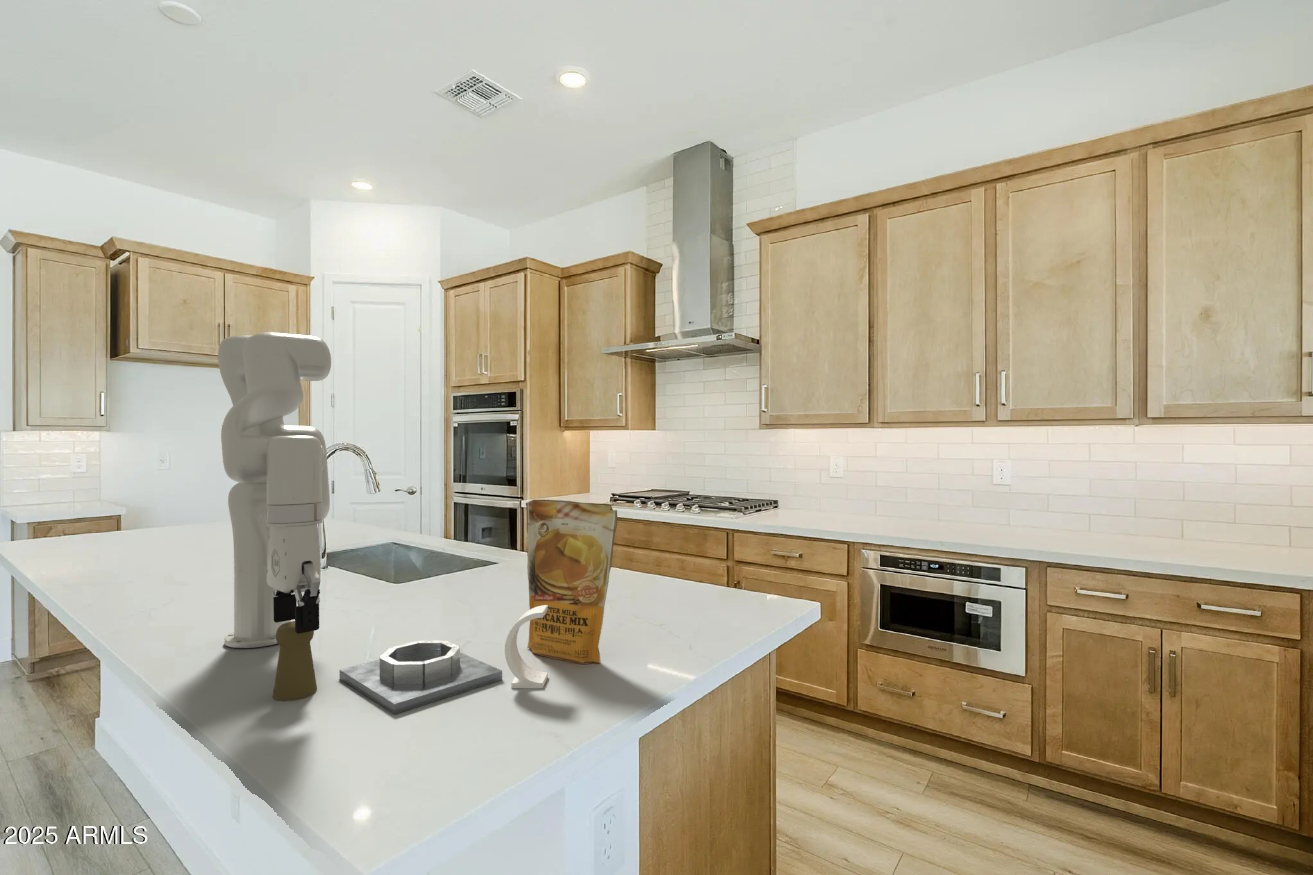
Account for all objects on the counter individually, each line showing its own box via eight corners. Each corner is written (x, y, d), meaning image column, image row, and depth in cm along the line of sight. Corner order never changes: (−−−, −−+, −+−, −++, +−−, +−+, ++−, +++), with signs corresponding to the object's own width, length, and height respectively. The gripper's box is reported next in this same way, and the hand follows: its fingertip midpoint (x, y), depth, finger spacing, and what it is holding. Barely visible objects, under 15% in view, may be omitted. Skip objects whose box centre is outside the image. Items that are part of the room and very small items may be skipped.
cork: (326, 688, 102) (325, 618, 102) (293, 703, 96) (293, 629, 96) (297, 683, 104) (296, 615, 104) (263, 697, 98) (263, 625, 98)
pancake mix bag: (537, 641, 126) (537, 497, 125) (620, 657, 116) (620, 502, 116) (513, 651, 120) (513, 500, 120) (599, 669, 110) (599, 505, 110)
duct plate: (339, 678, 106) (339, 651, 106) (440, 651, 119) (440, 627, 119) (394, 714, 92) (394, 683, 92) (502, 679, 106) (502, 652, 106)
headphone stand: (542, 688, 102) (542, 612, 102) (504, 688, 102) (504, 612, 102) (548, 677, 107) (547, 604, 107) (511, 677, 107) (511, 604, 107)
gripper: (250, 514, 103) (251, 621, 103) (287, 520, 91) (288, 642, 91) (301, 510, 109) (302, 612, 108) (342, 516, 97) (343, 630, 97)
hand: (295, 625), depth 100 cm, fingers open, 9 cm apart
